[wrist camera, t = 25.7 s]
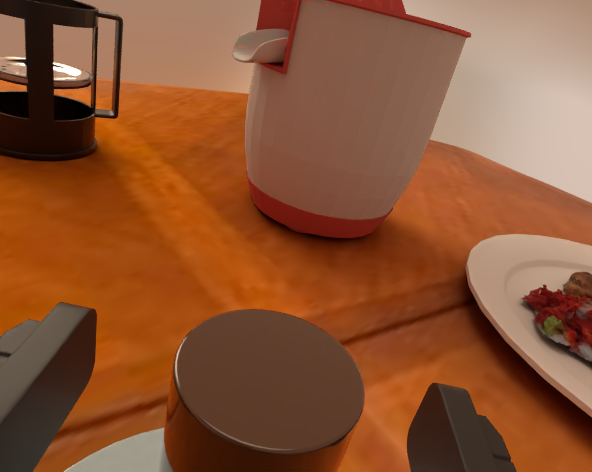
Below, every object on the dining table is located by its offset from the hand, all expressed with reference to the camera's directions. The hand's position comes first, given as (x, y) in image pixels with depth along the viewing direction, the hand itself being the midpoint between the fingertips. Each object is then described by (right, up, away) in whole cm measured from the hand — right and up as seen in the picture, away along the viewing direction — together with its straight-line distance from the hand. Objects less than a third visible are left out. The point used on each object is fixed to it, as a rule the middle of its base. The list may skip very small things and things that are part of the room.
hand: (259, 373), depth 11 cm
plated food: (+27, -6, +21) cm, 35 cm away
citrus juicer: (+2, +5, +30) cm, 31 cm away
